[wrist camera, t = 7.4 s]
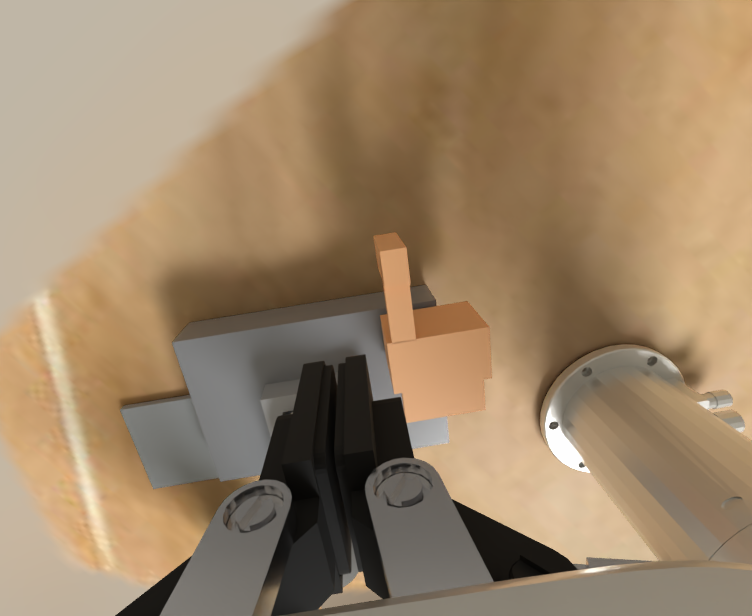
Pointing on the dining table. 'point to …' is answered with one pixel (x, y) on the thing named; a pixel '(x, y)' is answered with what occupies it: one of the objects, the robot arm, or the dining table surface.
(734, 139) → the dining table surface
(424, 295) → the grey base plate
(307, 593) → the robot arm
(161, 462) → the mat
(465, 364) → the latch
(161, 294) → the dining table surface
